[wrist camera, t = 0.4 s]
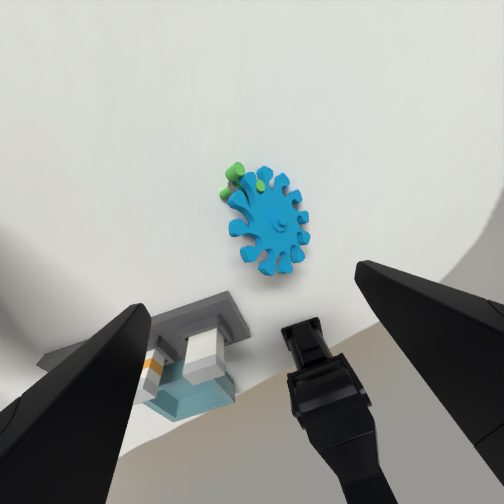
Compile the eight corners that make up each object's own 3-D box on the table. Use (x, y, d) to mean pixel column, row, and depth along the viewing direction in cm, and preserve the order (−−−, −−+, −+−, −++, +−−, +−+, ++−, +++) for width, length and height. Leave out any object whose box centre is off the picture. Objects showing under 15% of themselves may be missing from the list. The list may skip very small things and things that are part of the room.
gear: (325, 229, 21) (285, 300, 16) (285, 237, 26) (244, 294, 21) (275, 134, 17) (200, 187, 12) (237, 163, 22) (171, 211, 17)
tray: (234, 381, 38) (235, 402, 35) (176, 400, 39) (173, 422, 36) (207, 348, 32) (205, 370, 29) (139, 371, 32) (130, 395, 29)
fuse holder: (248, 329, 31) (251, 346, 28) (91, 382, 32) (80, 403, 29) (227, 290, 26) (228, 307, 23) (44, 354, 27) (26, 376, 25)
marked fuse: (167, 351, 28) (155, 397, 23) (142, 359, 28) (125, 407, 23) (157, 340, 27) (142, 388, 22) (130, 350, 27) (109, 399, 22)
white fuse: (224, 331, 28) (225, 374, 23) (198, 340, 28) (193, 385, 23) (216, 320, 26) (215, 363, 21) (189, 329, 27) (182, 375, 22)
